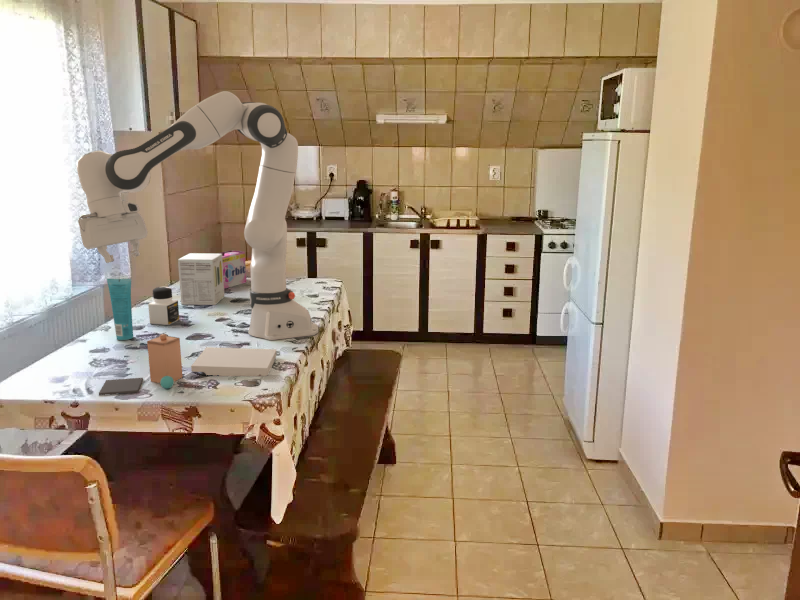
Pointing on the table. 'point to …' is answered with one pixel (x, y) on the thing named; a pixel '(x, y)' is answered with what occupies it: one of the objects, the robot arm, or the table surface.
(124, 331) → the tube
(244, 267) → the gum box
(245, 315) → the table surface
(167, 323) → the medicine bottle
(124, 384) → the mat
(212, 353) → the cream flat block
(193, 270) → the supplement box
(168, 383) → the ball
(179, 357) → the tan box with knob
